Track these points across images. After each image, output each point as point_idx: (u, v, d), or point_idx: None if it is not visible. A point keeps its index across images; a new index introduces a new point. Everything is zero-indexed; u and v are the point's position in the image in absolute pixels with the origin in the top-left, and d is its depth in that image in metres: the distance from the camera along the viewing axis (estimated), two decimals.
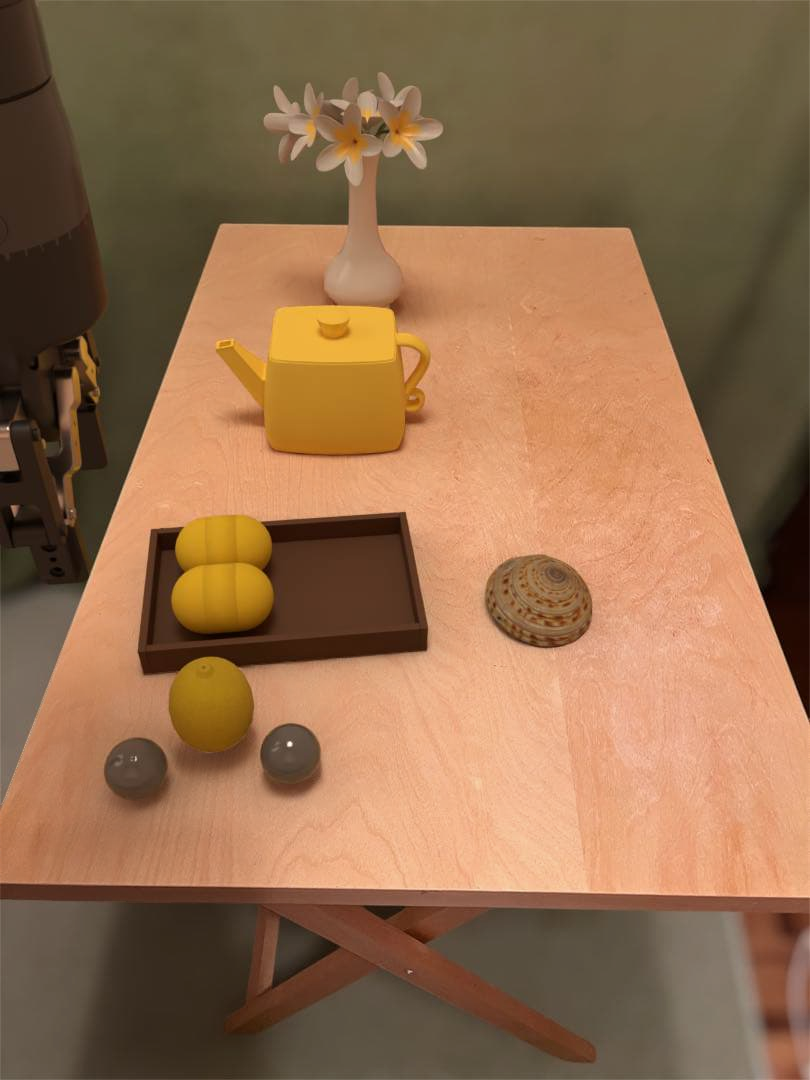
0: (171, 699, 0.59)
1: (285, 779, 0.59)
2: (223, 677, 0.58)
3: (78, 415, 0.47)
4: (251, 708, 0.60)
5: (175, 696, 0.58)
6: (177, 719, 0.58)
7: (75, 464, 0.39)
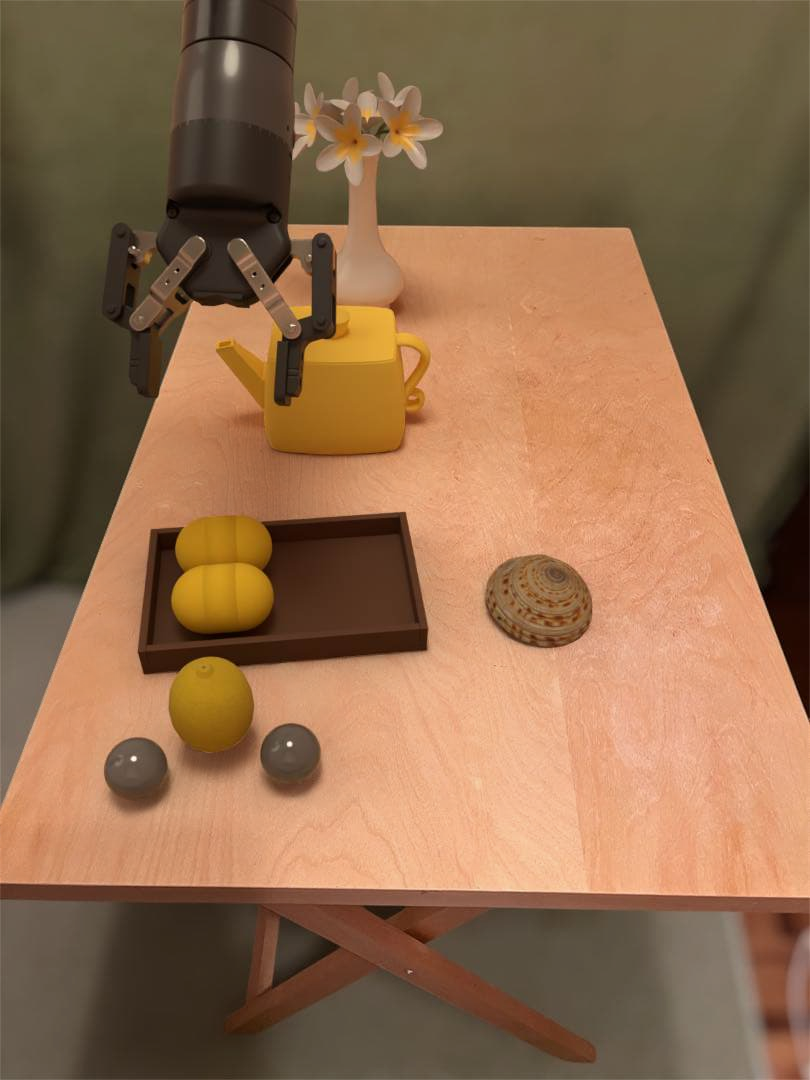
0: (171, 699, 0.59)
1: (285, 779, 0.59)
2: (223, 677, 0.58)
3: (158, 340, 0.57)
4: (251, 708, 0.60)
5: (175, 696, 0.58)
6: (178, 719, 0.58)
7: None
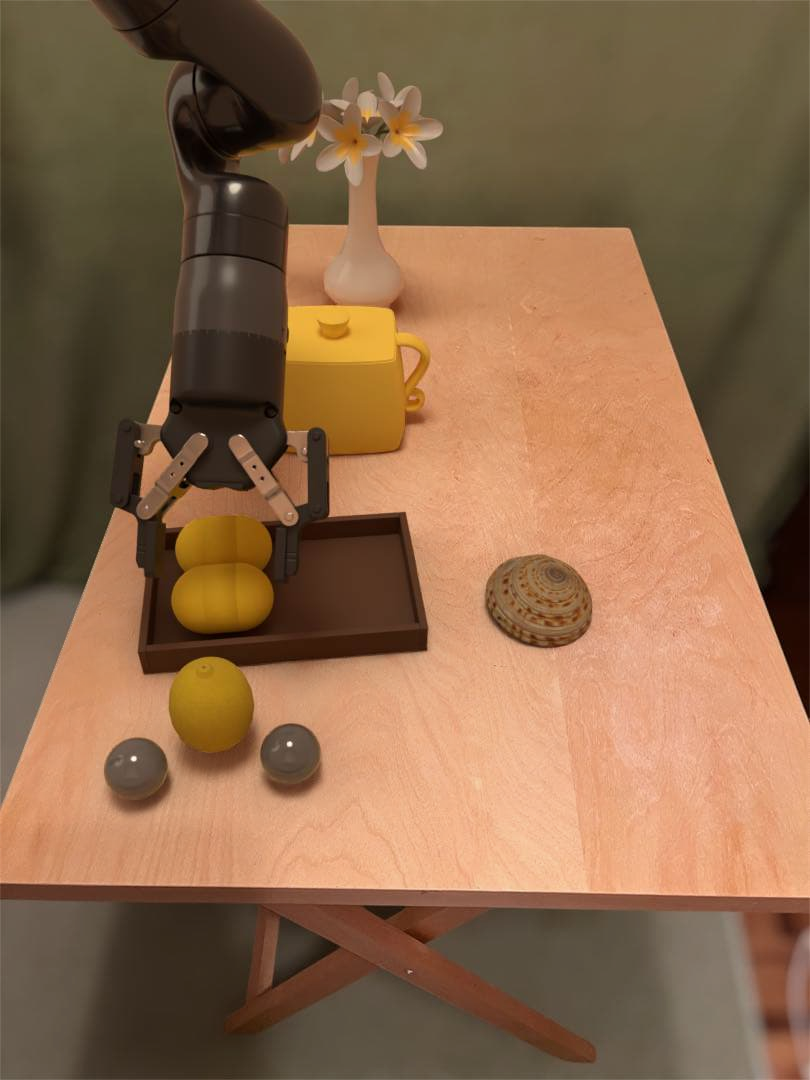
0: (171, 699, 0.59)
1: (285, 779, 0.59)
2: (223, 677, 0.58)
3: (162, 524, 0.61)
4: (251, 708, 0.60)
5: (175, 696, 0.58)
6: (178, 719, 0.58)
7: None
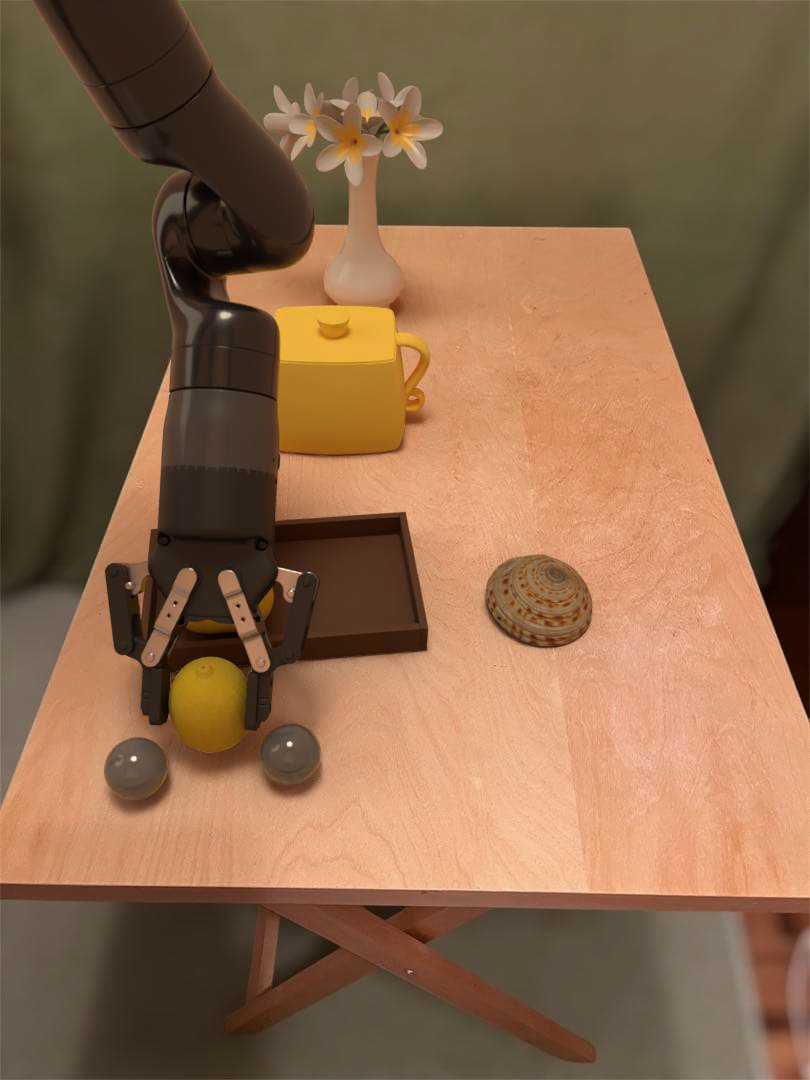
0: (171, 699, 0.59)
1: (285, 779, 0.59)
2: (223, 677, 0.58)
3: (168, 669, 0.60)
4: None
5: (174, 697, 0.58)
6: (177, 719, 0.58)
7: None
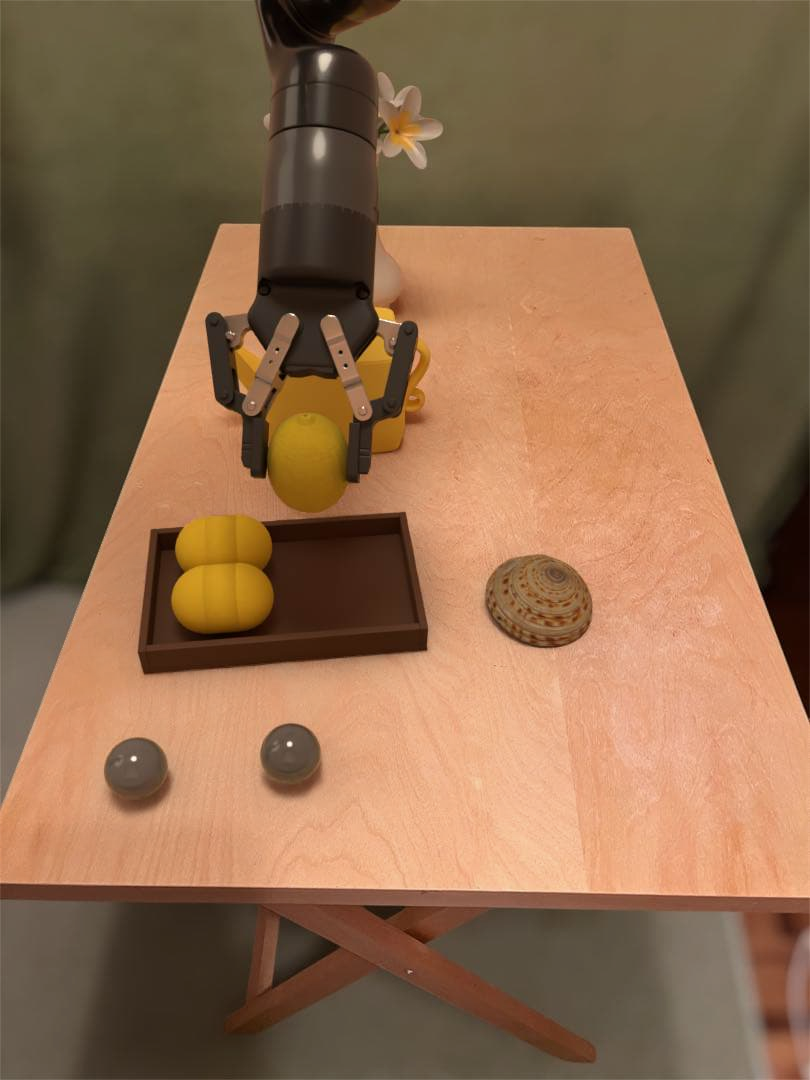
0: (271, 450, 0.58)
1: (285, 779, 0.59)
2: (325, 426, 0.58)
3: (267, 423, 0.59)
4: None
5: (276, 446, 0.58)
6: (278, 469, 0.58)
7: None
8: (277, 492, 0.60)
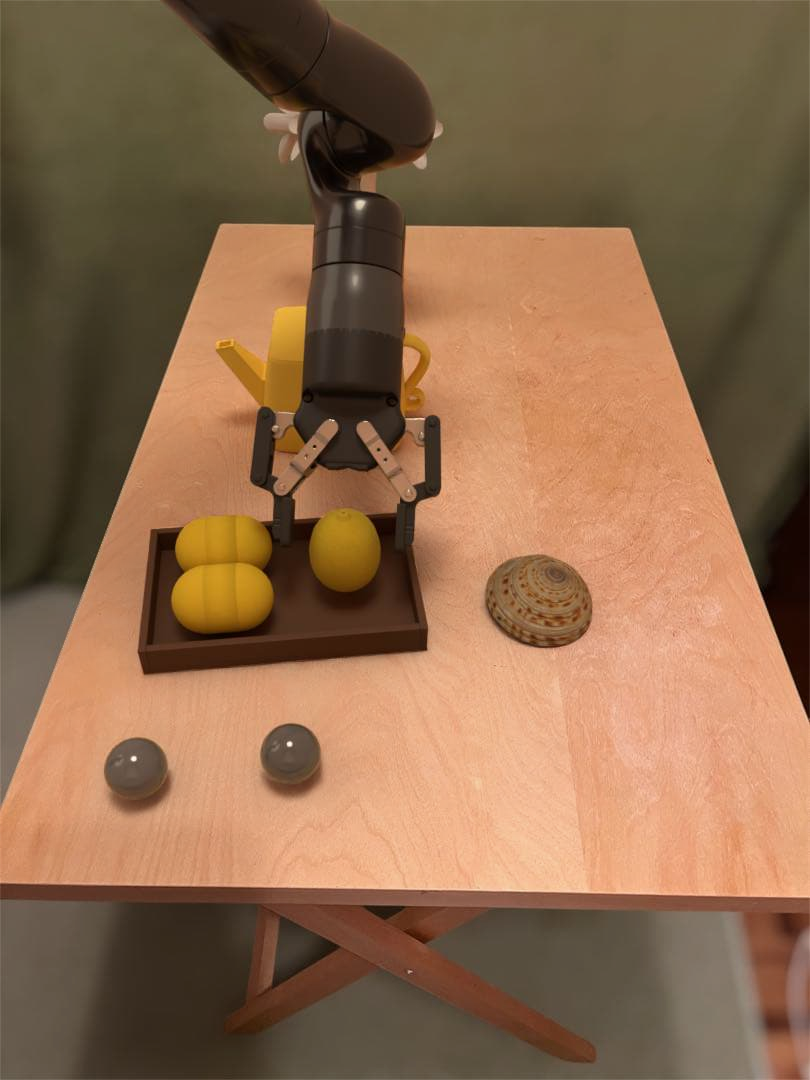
0: (314, 541, 0.69)
1: (285, 779, 0.59)
2: (359, 522, 0.68)
3: (294, 501, 0.69)
4: (379, 553, 0.70)
5: (318, 538, 0.68)
6: (320, 558, 0.69)
7: None
8: (318, 575, 0.70)
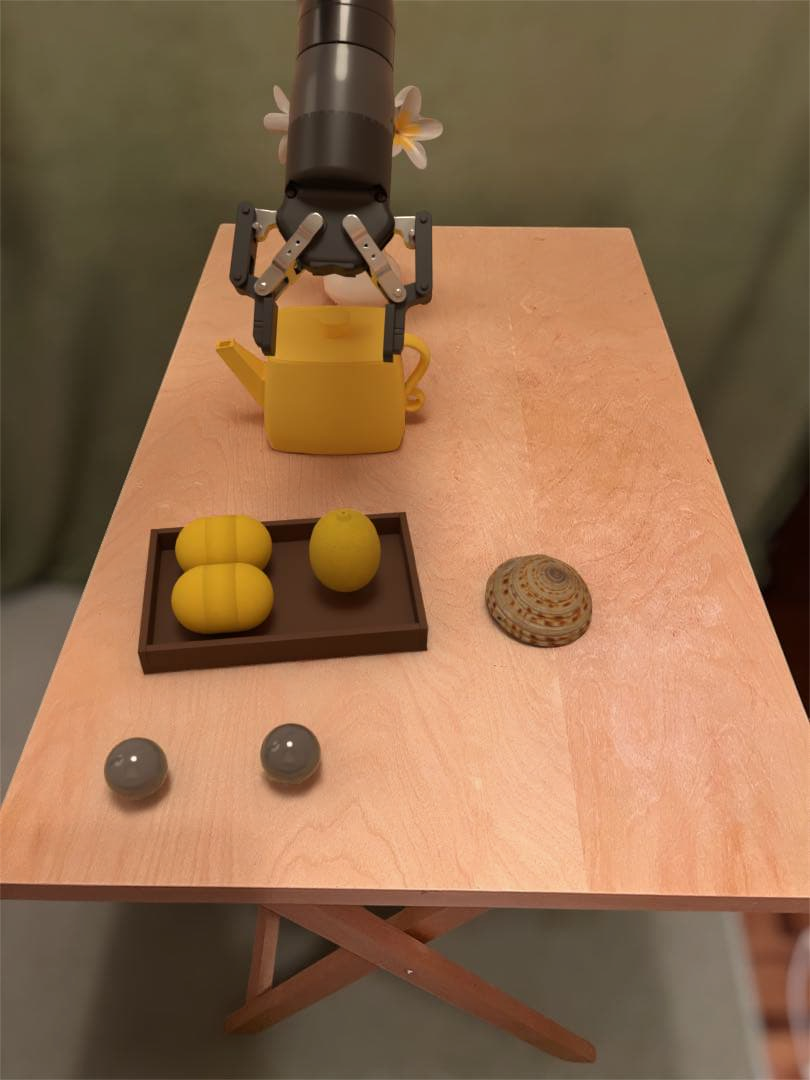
0: (314, 541, 0.69)
1: (285, 779, 0.59)
2: (359, 522, 0.68)
3: (276, 305, 0.65)
4: (379, 553, 0.70)
5: (318, 538, 0.68)
6: (320, 558, 0.69)
7: None
8: (318, 575, 0.70)
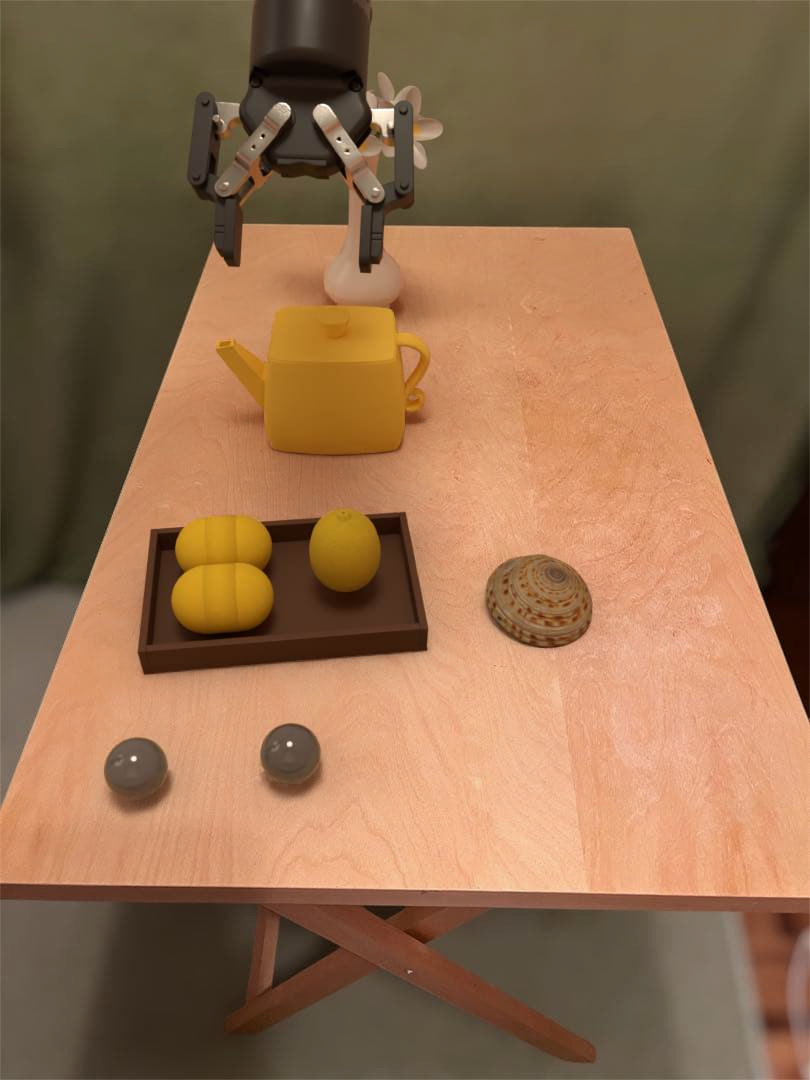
0: (314, 541, 0.69)
1: (285, 779, 0.59)
2: (359, 522, 0.68)
3: (240, 210, 0.58)
4: (379, 553, 0.70)
5: (318, 538, 0.68)
6: (320, 558, 0.69)
7: None
8: (318, 575, 0.70)
